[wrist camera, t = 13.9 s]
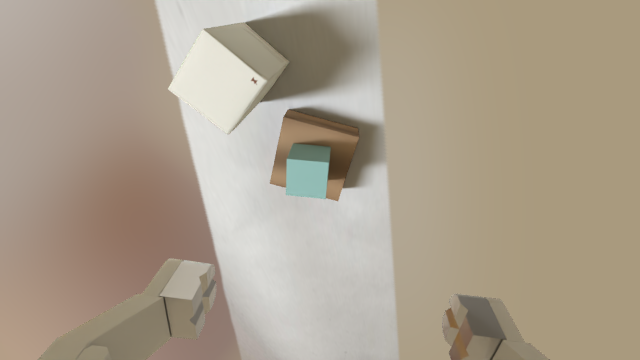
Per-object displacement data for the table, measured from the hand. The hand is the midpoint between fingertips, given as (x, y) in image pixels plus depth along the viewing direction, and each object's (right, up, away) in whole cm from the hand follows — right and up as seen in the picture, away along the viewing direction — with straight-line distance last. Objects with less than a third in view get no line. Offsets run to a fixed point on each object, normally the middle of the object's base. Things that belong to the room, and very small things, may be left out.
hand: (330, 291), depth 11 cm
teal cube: (-2, +6, +33) cm, 33 cm away
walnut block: (-1, +8, +36) cm, 37 cm away
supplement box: (-9, +19, +31) cm, 37 cm away
